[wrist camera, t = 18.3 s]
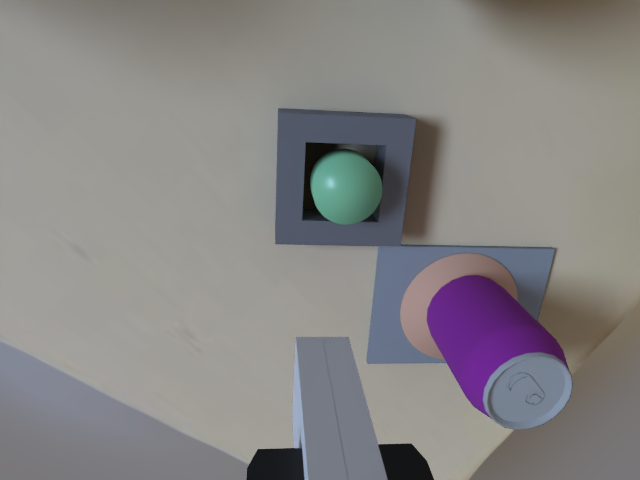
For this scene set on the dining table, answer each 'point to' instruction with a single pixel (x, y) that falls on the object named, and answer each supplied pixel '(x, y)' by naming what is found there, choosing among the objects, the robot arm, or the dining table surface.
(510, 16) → the dining table surface
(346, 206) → the button
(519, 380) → the beverage can
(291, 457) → the robot arm
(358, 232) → the button housing
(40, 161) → the dining table surface
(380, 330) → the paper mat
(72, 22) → the dining table surface
